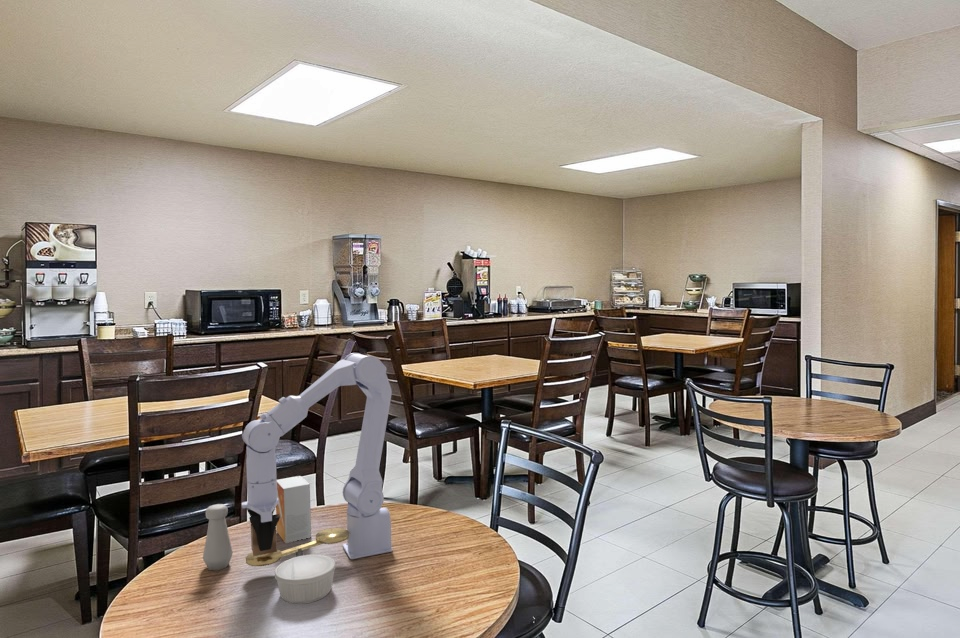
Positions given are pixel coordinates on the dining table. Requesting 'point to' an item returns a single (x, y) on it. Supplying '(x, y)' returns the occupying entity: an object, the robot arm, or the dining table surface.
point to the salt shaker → (217, 539)
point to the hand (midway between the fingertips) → (264, 544)
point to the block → (255, 545)
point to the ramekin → (305, 578)
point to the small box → (293, 509)
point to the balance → (299, 547)
